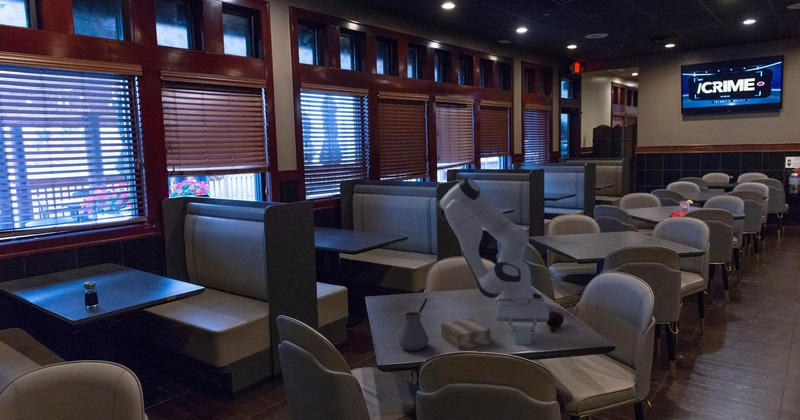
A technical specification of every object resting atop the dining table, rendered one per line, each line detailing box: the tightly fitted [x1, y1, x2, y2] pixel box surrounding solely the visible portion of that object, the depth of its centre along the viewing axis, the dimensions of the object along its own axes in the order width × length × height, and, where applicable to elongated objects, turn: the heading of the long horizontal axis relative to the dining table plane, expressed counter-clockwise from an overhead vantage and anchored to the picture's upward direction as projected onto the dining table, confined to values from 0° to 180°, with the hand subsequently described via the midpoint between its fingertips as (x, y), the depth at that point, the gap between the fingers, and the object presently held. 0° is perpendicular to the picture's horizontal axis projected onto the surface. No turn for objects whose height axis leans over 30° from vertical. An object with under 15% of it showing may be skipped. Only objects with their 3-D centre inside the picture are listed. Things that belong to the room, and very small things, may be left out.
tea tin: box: [514, 320, 532, 345], centre depth 208 cm, size 6×6×8 cm
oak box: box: [440, 318, 491, 350], centre depth 211 cm, size 14×14×6 cm
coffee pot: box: [398, 297, 431, 352], centre depth 210 cm, size 21×12×15 cm, turn 156°
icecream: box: [545, 310, 564, 334], centre depth 223 cm, size 7×7×15 cm
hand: (523, 331), depth 207 cm, fingers closed on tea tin, 6 cm apart
